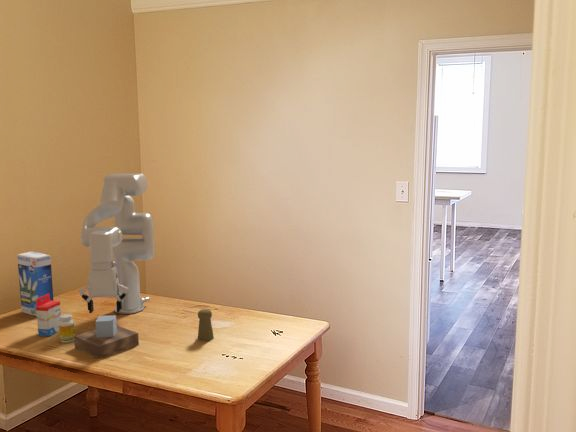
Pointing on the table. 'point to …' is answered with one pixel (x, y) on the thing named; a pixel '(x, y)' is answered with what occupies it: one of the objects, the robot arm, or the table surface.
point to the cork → (205, 325)
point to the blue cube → (106, 326)
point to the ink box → (47, 316)
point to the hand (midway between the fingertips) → (105, 311)
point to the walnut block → (106, 342)
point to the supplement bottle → (66, 328)
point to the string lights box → (34, 279)
